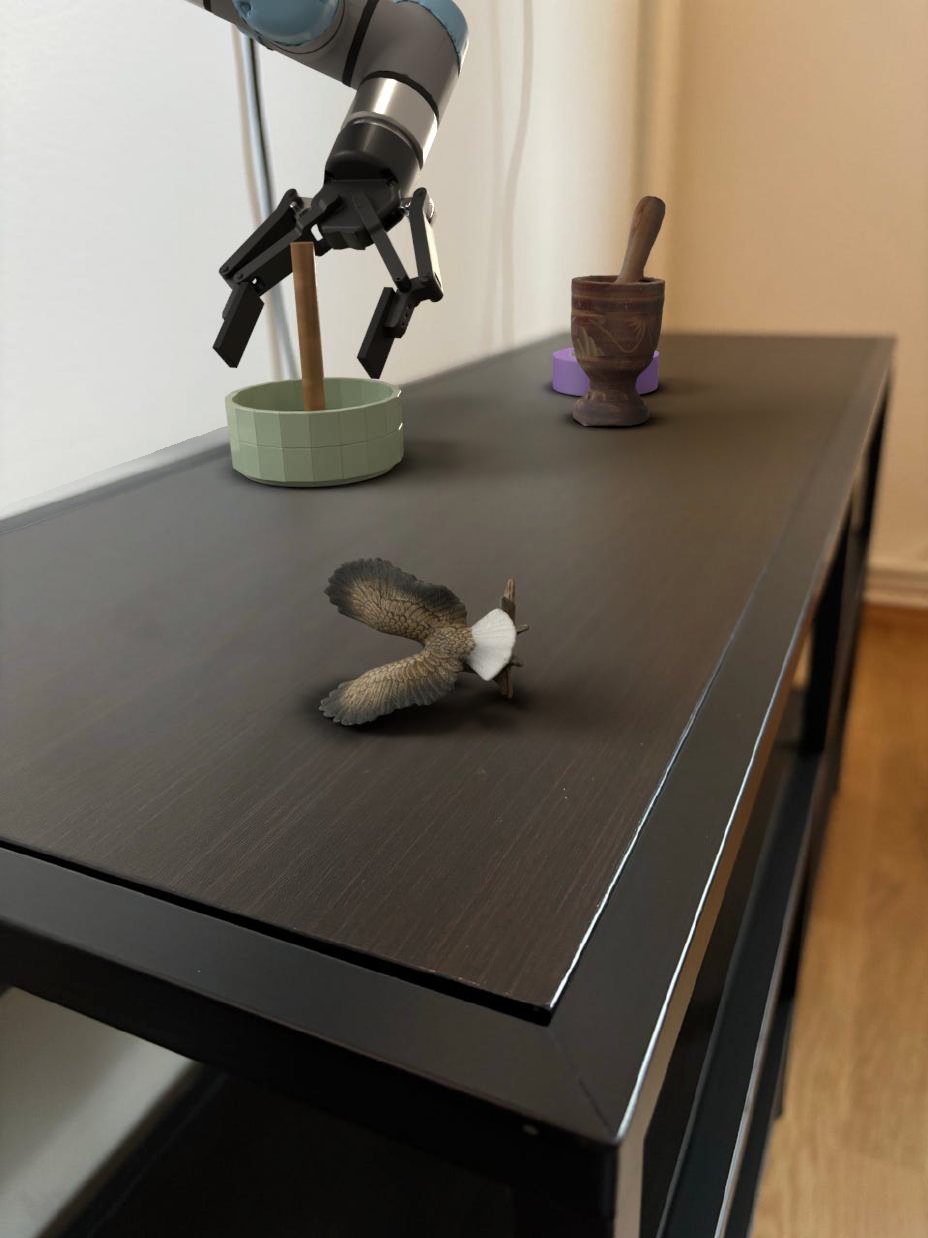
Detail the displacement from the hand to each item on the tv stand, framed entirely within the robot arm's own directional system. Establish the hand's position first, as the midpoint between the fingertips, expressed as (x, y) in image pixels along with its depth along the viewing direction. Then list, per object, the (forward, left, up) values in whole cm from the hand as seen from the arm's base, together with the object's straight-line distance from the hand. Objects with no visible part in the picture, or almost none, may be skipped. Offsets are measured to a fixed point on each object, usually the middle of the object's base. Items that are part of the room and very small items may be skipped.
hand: (293, 363), depth 78 cm
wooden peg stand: (+1, +2, -8) cm, 9 cm away
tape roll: (+27, +34, -9) cm, 44 cm away
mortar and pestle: (+27, +20, -9) cm, 35 cm away
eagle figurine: (+14, -38, -9) cm, 41 cm away
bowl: (+1, +2, -9) cm, 9 cm away
